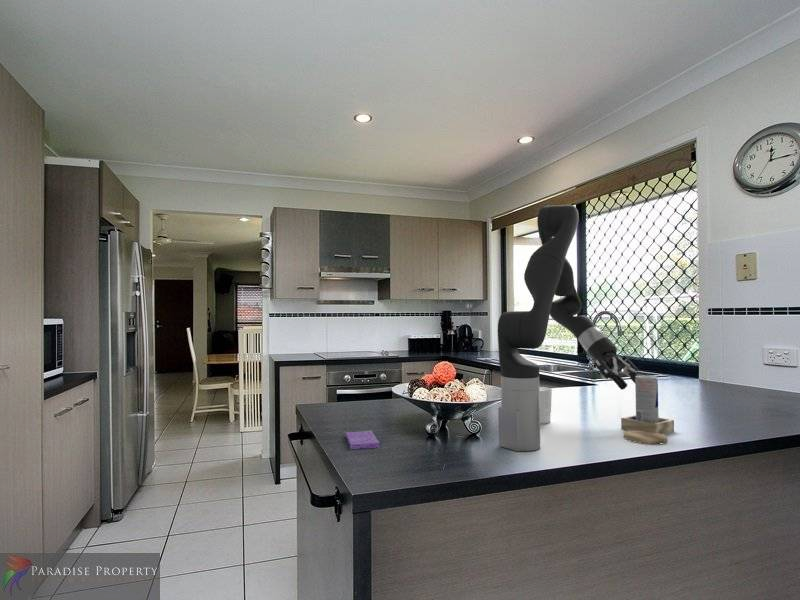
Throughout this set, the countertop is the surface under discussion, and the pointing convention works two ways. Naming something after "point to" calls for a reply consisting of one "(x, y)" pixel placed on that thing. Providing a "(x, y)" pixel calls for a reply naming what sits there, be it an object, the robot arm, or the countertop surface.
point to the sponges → (362, 440)
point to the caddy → (647, 425)
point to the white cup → (545, 404)
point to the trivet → (645, 437)
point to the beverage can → (646, 399)
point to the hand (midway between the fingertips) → (633, 386)
